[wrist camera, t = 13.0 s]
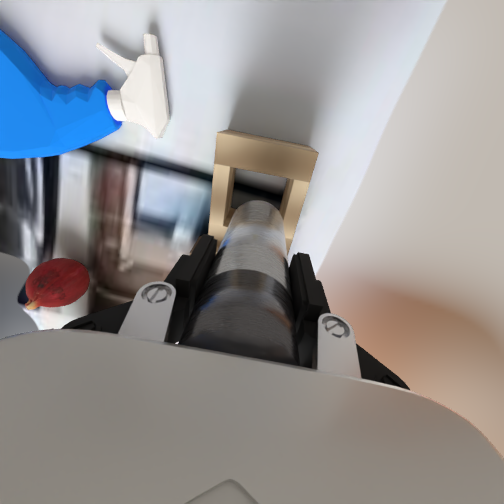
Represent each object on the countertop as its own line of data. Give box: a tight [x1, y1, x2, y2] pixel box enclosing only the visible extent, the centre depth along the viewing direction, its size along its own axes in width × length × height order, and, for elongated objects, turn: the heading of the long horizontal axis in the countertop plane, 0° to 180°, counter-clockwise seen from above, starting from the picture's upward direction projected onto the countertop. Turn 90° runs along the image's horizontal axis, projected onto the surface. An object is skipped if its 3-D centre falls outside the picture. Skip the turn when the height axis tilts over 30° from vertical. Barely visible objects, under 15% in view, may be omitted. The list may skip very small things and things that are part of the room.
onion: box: [25, 258, 90, 310], centre depth 28 cm, size 6×6×8 cm
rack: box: [208, 130, 319, 256], centre depth 22 cm, size 11×8×6 cm
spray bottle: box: [0, 29, 170, 159], centre depth 21 cm, size 3×11×24 cm
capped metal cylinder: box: [178, 200, 300, 366], centre depth 12 cm, size 4×4×12 cm
